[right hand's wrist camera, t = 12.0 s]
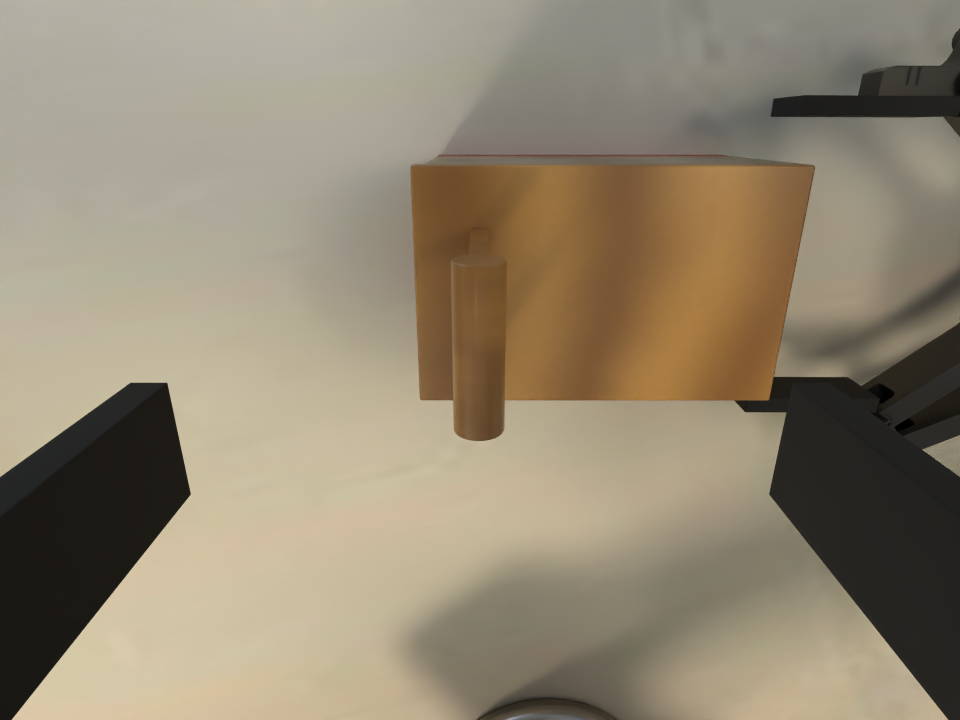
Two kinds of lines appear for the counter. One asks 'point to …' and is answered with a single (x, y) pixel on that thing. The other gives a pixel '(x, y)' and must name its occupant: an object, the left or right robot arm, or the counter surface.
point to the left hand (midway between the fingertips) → (757, 263)
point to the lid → (601, 282)
